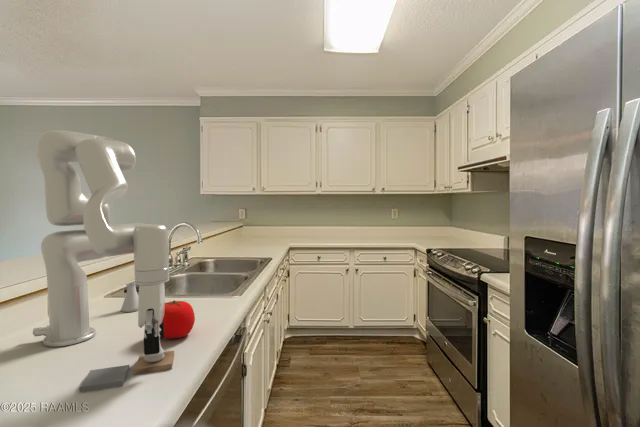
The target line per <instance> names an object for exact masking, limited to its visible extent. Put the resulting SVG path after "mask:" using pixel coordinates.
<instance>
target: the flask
mask: <svg viewBox="0 0 640 427" xmlns="http://www.w3.org/2000/svg"><path fill="white" fill-rule="evenodd" d="M125 285H126V294H125V297H124V300H123V304H122V305H121V308H120V312H123V313H131V312H132V313H133V312H137V311H138V295H139V293H138V292H137V288H136V287H137V285H136V284H135V281H131V282H127V283H126V284H125Z"/></svg>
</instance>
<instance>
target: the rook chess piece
mask: <svg viewBox="0 0 640 427" xmlns="http://www.w3.org/2000/svg"><path fill="white" fill-rule="evenodd" d="M152 328H154V329H155V327H152ZM160 331H161V329H160V328H159V326H158V335H159V332H160ZM159 345H160V352H159V353H157V354H150V355H145V354H144V355H145V360H146V362H149V363H153V362H158V361H160V360H162V359H163V358H164V356H165V355H164V352H165V350H164V349H163V347H162V346H161V345H162V344H161V338H160V335H159Z"/></svg>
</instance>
